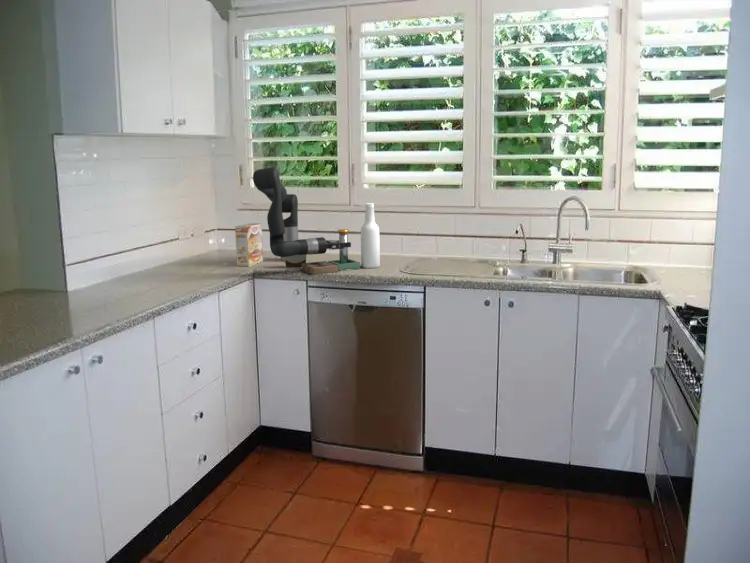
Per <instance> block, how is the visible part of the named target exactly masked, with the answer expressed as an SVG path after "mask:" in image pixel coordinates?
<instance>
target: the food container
mask: <svg viewBox="0 0 750 563" xmlns="http://www.w3.org/2000/svg"><path fill="white" fill-rule="evenodd" d="M284 258H285V261H284V263H285V268H286V269H288V268H287V267H295V268H294V269H301V268H300V267H302V266H301V263H307V254H306V255H294V256H288V257H284ZM297 267H298V268H297Z"/></svg>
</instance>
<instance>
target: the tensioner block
mask: <svg viewBox="0 0 750 563" xmlns="http://www.w3.org/2000/svg"><path fill="white" fill-rule="evenodd" d="M301 266H302V268H301V271H303V272H306V273H308V274H311V275H323V274H332V273H331V272H335V273H339V271H338V266H337V265H335V264H332V263H329V262H328V261H326V260H325V261H324V260H323V261H322V260H321V261H312V262H306V263H301Z"/></svg>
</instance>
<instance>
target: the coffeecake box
mask: <svg viewBox="0 0 750 563" xmlns="http://www.w3.org/2000/svg"><path fill="white" fill-rule="evenodd" d="M262 226H263V225H262V223H255V222H253V223H246V224H241V225H235V226H234V228H235V229H234V231H235V232H234V233H235V251H236V254H235V256H236V266H237V267H246V266H248V267H253V266H254V265H258V264H261V263H264V252H263V251H264V249H263V229H262V228H263V227H262ZM260 262H261V263H260ZM257 263H258V264H257Z"/></svg>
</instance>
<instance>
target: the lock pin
mask: <svg viewBox="0 0 750 563" xmlns="http://www.w3.org/2000/svg"><path fill="white" fill-rule="evenodd" d="M337 233H338V234H339V235H338V240H339V243H342V242H343V243H345V242H349V241H348V240H349V234H348V233H350V229H348V228H346V229H345V228H342V229H341V228H340V229H337ZM339 247H341V245H339ZM338 250H339V253H338V254H339V260H340V264H345V263H348V259H349V247H345V248H344V249H338Z"/></svg>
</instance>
